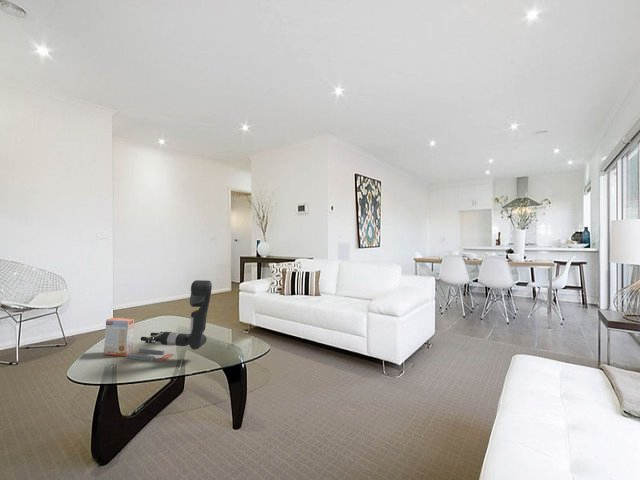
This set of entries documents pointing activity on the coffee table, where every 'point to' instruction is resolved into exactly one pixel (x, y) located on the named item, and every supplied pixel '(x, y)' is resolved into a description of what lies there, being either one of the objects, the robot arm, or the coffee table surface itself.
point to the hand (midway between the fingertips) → (146, 336)
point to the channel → (145, 356)
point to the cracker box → (119, 336)
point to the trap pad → (164, 357)
